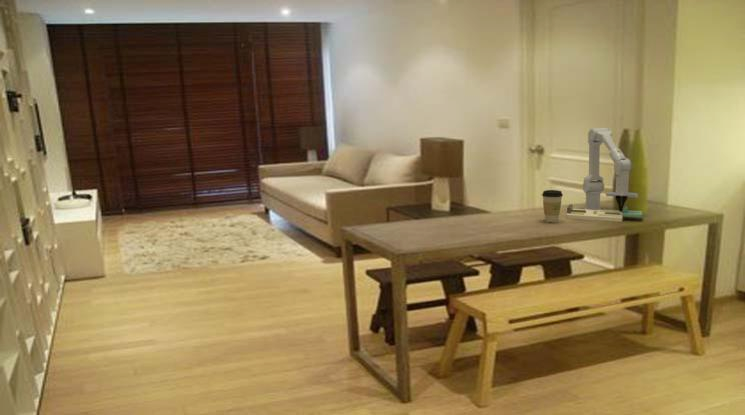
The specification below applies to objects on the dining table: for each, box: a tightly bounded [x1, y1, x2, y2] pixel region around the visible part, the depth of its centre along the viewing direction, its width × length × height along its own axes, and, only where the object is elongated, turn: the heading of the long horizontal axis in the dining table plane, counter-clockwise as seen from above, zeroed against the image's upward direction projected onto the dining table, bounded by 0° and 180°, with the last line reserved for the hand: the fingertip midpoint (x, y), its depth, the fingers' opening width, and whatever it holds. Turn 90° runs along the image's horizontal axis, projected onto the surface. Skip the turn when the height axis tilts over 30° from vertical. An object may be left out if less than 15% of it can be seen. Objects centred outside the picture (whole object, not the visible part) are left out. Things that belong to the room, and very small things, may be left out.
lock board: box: [565, 208, 624, 223], centre depth 310 cm, size 16×26×3 cm, turn 65°
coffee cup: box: [541, 189, 564, 223], centre depth 302 cm, size 10×10×15 cm
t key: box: [566, 203, 586, 214], centre depth 313 cm, size 9×9×3 cm
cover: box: [622, 204, 643, 218], centre depth 301 cm, size 9×9×4 cm
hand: (620, 211), depth 304 cm, fingers closed
